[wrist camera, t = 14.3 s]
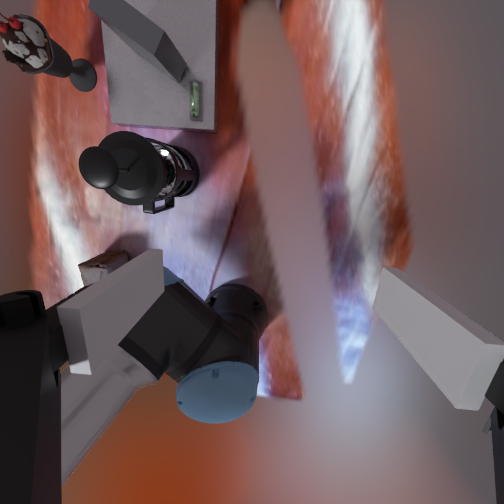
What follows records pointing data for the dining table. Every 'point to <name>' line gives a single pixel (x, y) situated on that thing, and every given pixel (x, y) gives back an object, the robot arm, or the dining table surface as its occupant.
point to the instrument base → (159, 83)
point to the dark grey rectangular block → (140, 35)
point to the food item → (102, 266)
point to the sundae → (42, 52)
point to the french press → (139, 170)
